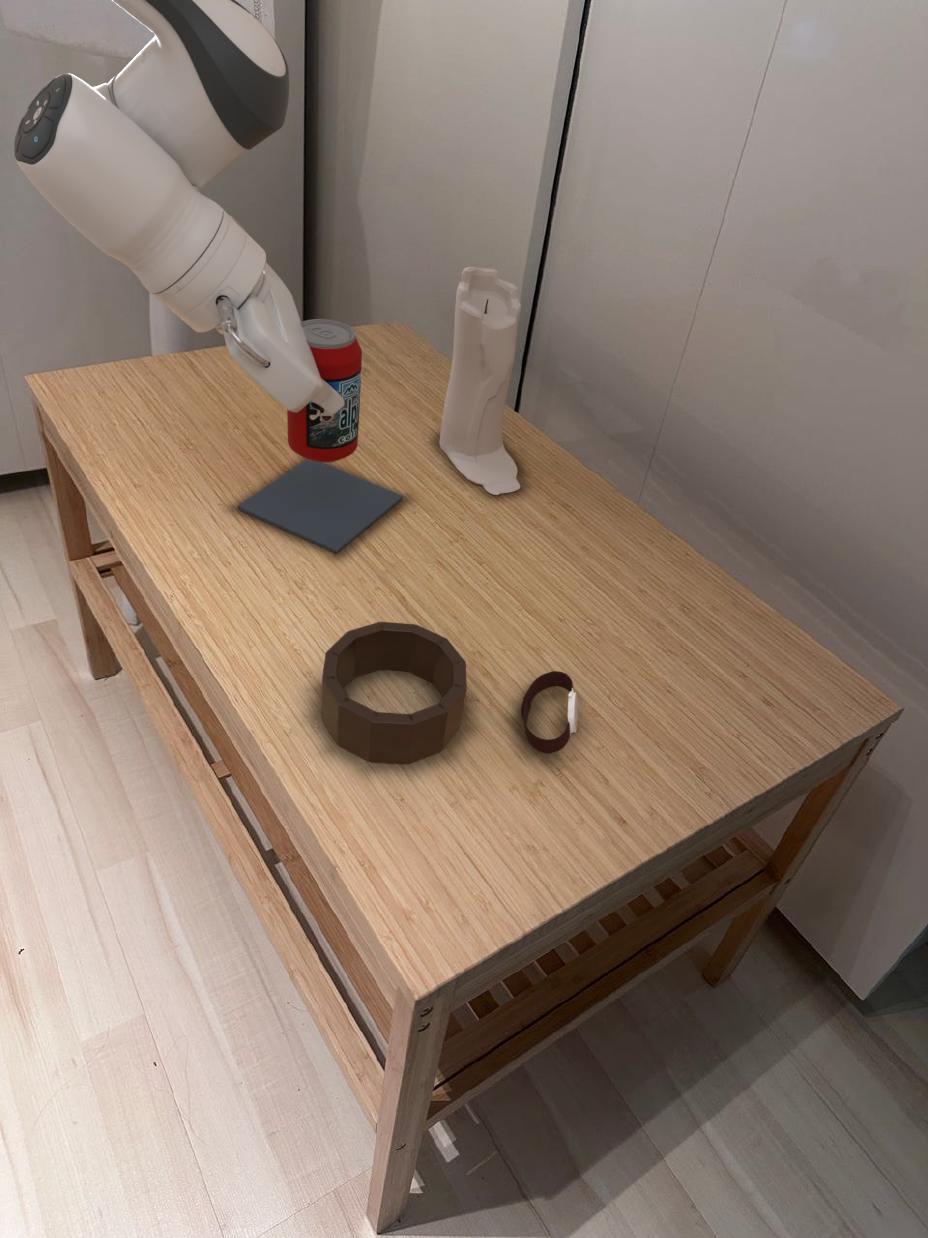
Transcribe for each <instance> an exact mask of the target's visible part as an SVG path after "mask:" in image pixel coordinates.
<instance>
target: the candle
mask: <svg viewBox="0 0 928 1238" xmlns="http://www.w3.org/2000/svg"><path fill="white" fill-rule="evenodd" d="M521 311H522V305H521V302H520V289H519V286H517V285H516V284H513V283H512V282H510V281H506V280H503V279H502V278H500V276H499V271H498V270H496V269H495V268H487V267H486V268H485V267H478V266H467V267H464V268H463V270H462V272H461V275H460V279H459V282H458V286H457V289H456V296H455V309H454V331H453V347H452V348H453V351H452V361H451V368H450V375H449V380H448V385H447V390H446V394H445V399H444V404H443V410H442V418H441V425H440V434H439V447H440V449H441V451H443V452H444V454H445V455H446V456H447V457H448V459H449V461H450V462H451V463H452V464H453V466H454V467H455V468H456V469H457V471H458V472H459V473H460V474H461V475H462V476H463V477H465V479H467V480H468V481H470V482H472V483H473V484H476V485H479V486H482V487H483V489H484V490H485V491H486V492H488V493H489V494H491V495H493V496H499V495H501V494H508V493H513V492H516V491H518V490H520V488H521V485H520V483H519V480H518V478H517V476H518V467H517V464H516V461H515V460H514V459H513V458H512V457H511V455H510V454H509V452H507V450H506V448H505V445H504V442H503V430H504V418H505V409H506V401H507V397H508V396H507V395H508V391H509V386H510V381H511V376H512V372H513V367H514V362H515V357H516V356H515V355H516V347H517V336H518V328H519V321H520V317H521Z"/></svg>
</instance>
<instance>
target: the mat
mask: <svg viewBox="0 0 928 1238" xmlns="http://www.w3.org/2000/svg"><path fill="white" fill-rule="evenodd" d="M403 499H404V496H403V495H401V494H399V493H396V492H395V491H392V490H389V489H387V488H384V487H382V486H380V485H377V484H375V483H373V482H370V481H367V480H366V479H363V478H361V477H358V476H357V475H353V474H351V473H349V472H347V471H344V470H342V469H339V468H337V467H335V466H332V465H329V464H327V463H322V462H314V461H311V460H308V459H306V458H305V460H303V461H302V462H301V463H299V464H297V465H296V466H294V467H293V468H292V469H290V470H288V471H287V472H285V473H284V474H283V475H281V476H280V477H278V478H277V479H275V480H274V481H272V482H270V483H269V484H267V485H266V486H265V487H263V488H262V489H260V490H259V491H257V492H255V493H254V494H252V496H249V497H248V498H247V499H246V500H244V501H242V502H241V503H240V504H238V505H237V506H236V507H237V510H239V511H241V512H243V513H246V514H247V515H250V516H252V517H254V518H257V519H258V520H261V521H263V522H265V523H267V524H269V525H272V526H274V527H276V528H279V529H281V530H284V532H288V533H289V534H292V535H294V536H296V537H298V538H301V539H303V540H305V541H307V542H310V543H312V544H314V545H317V546H319V547H321V548H323V549H324V550H328V551H330V552H332V553H334V554H337V555H338V554H339V553H341V551H342V550H344V549H345V548H346V547H347V546H348V545H350V544H351V543H352V542H353V541H355V539H357V538H358V537H359V536H360V535H362V534H363V533H364V532H366V530H368V529H369V528H370V527H371V526H372V525H374V524H375V523H376V522H377V521H379V520H380V519H381V518H382V517H383V516H384V515H386V514H387V513H388V512H389V511H390V510H392V508H394V507H395V506H397V505H398V504H399V503H400V502H401V501H403Z"/></svg>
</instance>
